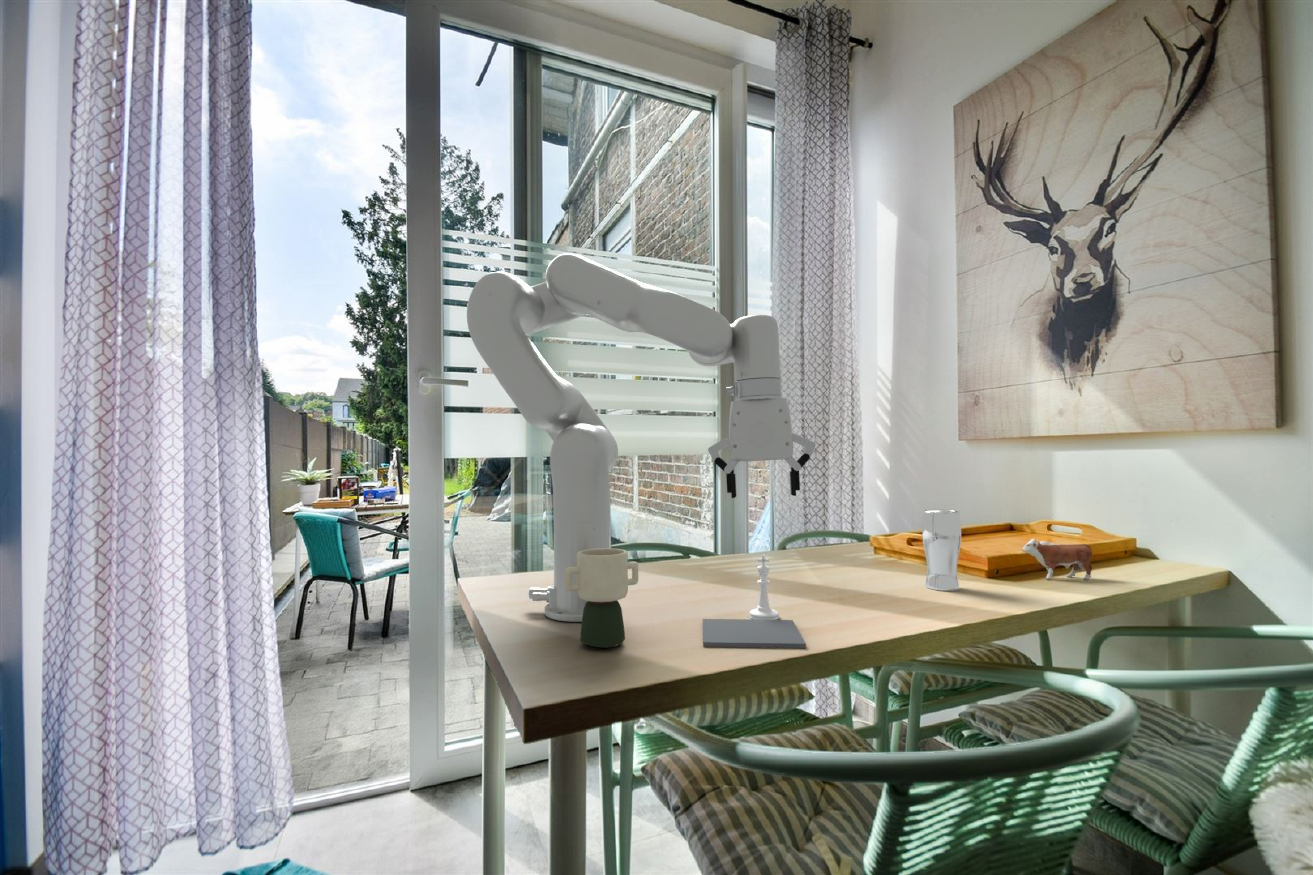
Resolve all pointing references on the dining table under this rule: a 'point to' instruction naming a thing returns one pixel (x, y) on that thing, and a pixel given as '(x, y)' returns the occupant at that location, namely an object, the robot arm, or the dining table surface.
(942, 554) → the beer glass
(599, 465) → the robot arm
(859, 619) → the dining table surface
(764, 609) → the chess piece
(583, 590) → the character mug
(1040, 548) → the bull figurine
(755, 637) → the mat
